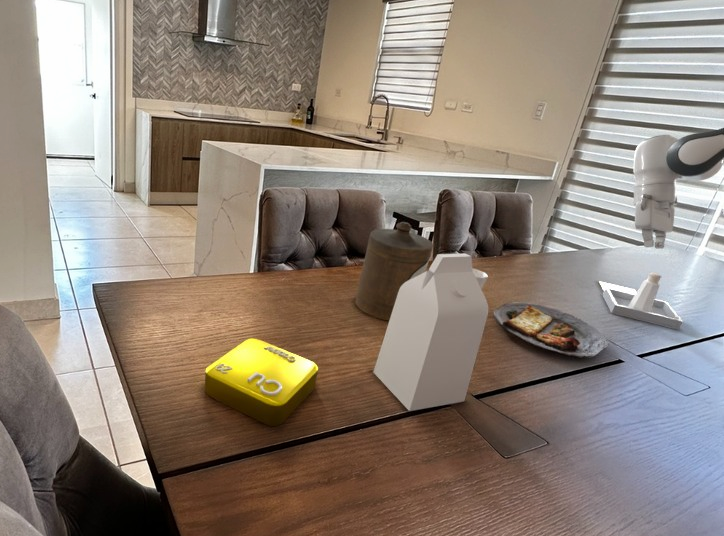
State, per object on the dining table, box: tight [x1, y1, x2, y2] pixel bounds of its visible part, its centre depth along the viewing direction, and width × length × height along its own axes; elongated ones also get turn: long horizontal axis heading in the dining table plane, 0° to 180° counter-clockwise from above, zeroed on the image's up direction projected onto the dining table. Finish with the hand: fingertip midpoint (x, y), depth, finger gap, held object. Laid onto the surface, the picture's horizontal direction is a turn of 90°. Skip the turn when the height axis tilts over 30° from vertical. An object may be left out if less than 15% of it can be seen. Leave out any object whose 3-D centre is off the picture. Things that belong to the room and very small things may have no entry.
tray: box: [602, 288, 684, 331], centre depth 133 cm, size 16×15×3 cm
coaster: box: [598, 281, 637, 294], centre depth 147 cm, size 10×10×1 cm
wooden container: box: [355, 221, 434, 321], centre depth 113 cm, size 15×15×22 cm
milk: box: [372, 252, 489, 412], centre depth 82 cm, size 12×12×26 cm
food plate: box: [492, 301, 610, 359], centre depth 113 cm, size 25×23×4 cm
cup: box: [472, 268, 489, 291], centre depth 127 cm, size 7×10×8 cm
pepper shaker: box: [628, 272, 662, 312], centre depth 131 cm, size 5×5×11 cm
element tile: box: [204, 337, 319, 427], centre depth 80 cm, size 15×15×5 cm
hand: (654, 247), depth 128 cm, fingers open, 8 cm apart
